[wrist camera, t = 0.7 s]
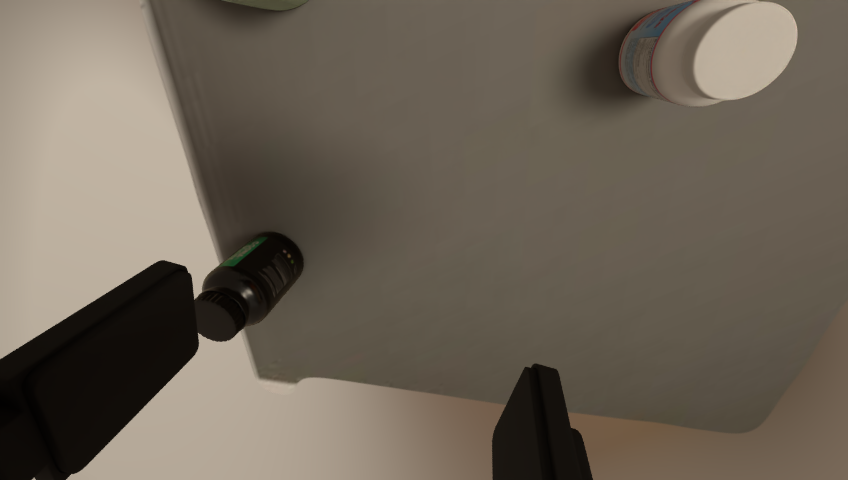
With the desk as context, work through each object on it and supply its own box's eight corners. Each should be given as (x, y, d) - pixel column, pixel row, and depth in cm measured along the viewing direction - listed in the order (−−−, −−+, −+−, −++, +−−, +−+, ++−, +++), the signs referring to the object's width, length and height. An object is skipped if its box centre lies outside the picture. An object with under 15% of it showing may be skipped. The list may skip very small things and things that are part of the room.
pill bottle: (706, -1, 27) (834, -33, 17) (694, 88, 29) (799, 105, 20) (617, 17, 28) (687, -3, 18) (613, 100, 31) (672, 122, 21)
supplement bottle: (254, 222, 42) (175, 279, 31) (310, 243, 42) (250, 307, 31) (248, 269, 45) (174, 334, 34) (300, 288, 45) (243, 360, 35)
